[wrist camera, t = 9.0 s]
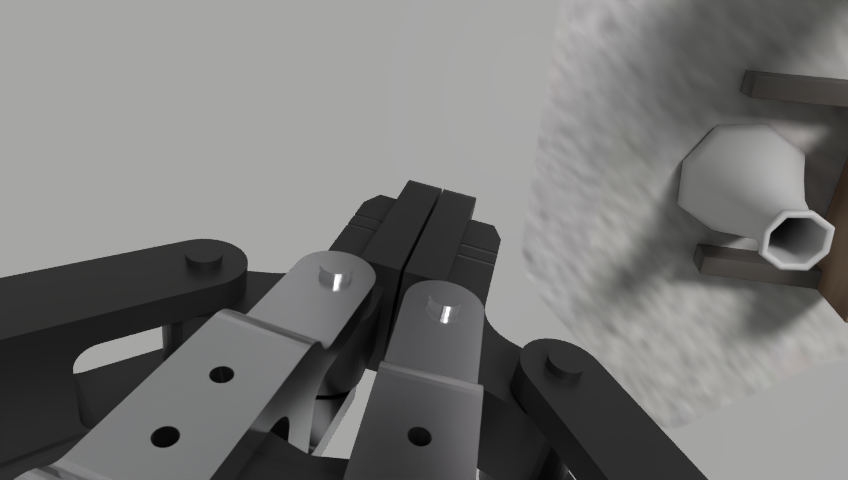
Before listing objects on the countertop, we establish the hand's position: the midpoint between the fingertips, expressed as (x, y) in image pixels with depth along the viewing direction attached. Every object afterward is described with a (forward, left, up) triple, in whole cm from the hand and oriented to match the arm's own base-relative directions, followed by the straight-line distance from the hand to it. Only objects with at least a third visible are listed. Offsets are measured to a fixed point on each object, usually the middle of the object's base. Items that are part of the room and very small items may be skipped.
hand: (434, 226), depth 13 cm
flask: (+6, +15, -28) cm, 32 cm away
